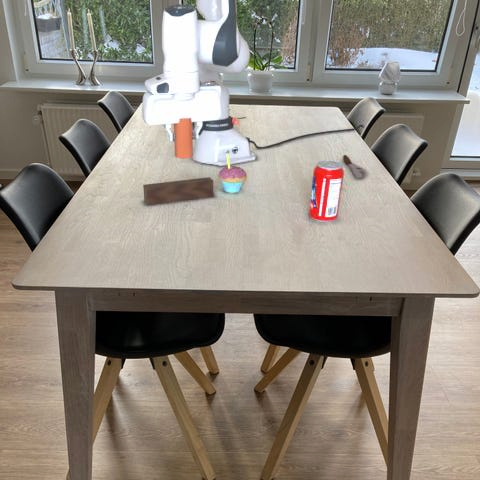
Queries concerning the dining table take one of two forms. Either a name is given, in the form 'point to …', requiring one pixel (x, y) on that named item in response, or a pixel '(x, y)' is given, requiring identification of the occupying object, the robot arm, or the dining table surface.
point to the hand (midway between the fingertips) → (183, 139)
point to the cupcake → (232, 177)
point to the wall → (178, 191)
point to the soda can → (326, 191)
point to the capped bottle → (184, 138)
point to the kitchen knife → (354, 168)
